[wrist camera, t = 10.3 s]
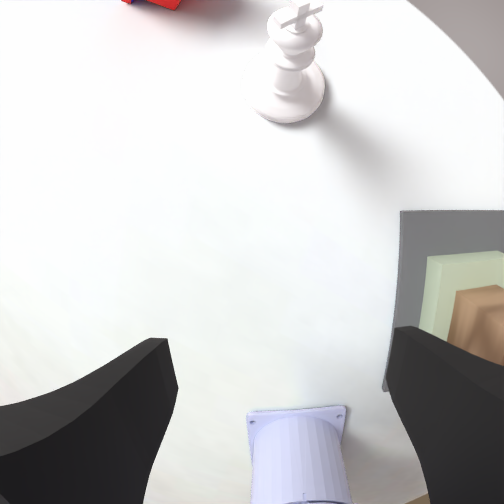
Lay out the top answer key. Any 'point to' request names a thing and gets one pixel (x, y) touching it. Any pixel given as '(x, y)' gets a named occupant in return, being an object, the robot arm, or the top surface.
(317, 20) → the chess piece
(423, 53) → the top surface
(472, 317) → the walnut snap block
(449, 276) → the base block
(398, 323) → the build mat
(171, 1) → the toy building block
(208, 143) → the top surface
